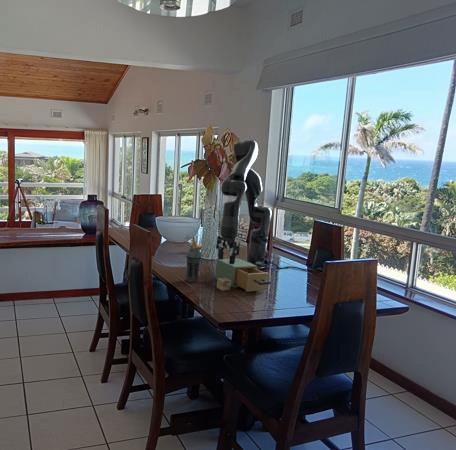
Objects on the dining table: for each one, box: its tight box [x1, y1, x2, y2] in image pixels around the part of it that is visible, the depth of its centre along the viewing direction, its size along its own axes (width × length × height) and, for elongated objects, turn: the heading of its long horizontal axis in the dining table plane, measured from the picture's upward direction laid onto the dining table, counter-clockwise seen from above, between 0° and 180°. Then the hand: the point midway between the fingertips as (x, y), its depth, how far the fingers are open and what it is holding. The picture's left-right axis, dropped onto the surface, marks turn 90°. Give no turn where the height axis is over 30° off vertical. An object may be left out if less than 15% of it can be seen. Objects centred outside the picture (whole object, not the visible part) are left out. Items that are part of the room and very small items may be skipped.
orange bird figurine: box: [184, 234, 203, 251], centre depth 273 cm, size 7×18×11 cm, turn 84°
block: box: [216, 278, 232, 291], centre depth 204 cm, size 4×4×4 cm
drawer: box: [235, 268, 271, 293], centre depth 205 cm, size 18×11×8 cm, turn 26°
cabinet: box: [214, 257, 257, 288], centre depth 216 cm, size 15×13×10 cm
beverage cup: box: [185, 238, 203, 283], centre depth 212 cm, size 7×7×20 cm
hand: (225, 261), depth 203 cm, fingers open, 8 cm apart
